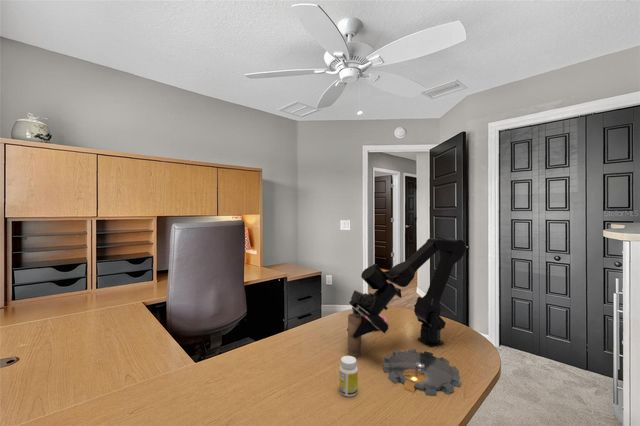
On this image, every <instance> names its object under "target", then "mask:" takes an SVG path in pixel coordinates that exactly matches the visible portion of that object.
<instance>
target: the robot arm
mask: <svg viewBox="0 0 640 426" xmlns="http://www.w3.org/2000/svg"><path fill="white" fill-rule="evenodd" d="M466 250H467V246H466V243H465V242H464V241H463V240H462V239H457V238H449V237H448V238H447V237H446V238H444V239H440V238H434V237H429V238H427V240H426V242H425V243H424V244H423V245H422V246H420V247H419V248H418V249H417V250H416V251H414V253H413V254H412V255H410V256H409V257H408V258H407V259H406V260H405V261H403V262H400V263H399V262H398V263H397V264H395V265H394V266H392V267H391V268H390V269H388V270H386V271H383V269H382V268H381V267H380V265H379V264H377V263H374V264H372V265H370V266H368V267H367V268H364V270H363V271H362V273H361V276H360V277H361V279H362V280H364V282H365V283H366V284H367V285H368V286H369V287H370V288H371V289H372V290H375V291H374V292H373V293H371V292H370V293H366V292H365V293H362V292H361V291H357V290H354V291H353V293H352V295H351V297H350V301H349V302H348V304H350V305H351V306H352V307H351V309H352V314H359V315H361V316H362V323H361V324H360V326H359V327H358V329H357V330H356V331H355V333H354V335H353V337H354V338H358V337H360V336H361V337H363V336H364V335H366V334H369V333H371V332H372V333H373V332H375V331H376V332H377V331H381V332H382V333H383V334H384V335H385V334H386V332H388V330H389V324H388V322H387V323H386V322H385V321H384V320H383V319H382V318H381V317H380V316H379V315H381V313H382V312H383V311H384V310H385V311H387V310H388V309H389V307H388V305H389V303H390V302H392V300H393V298H395V296H396V297H398V298H402V289H400V288H399V287H401V288H405V287H408V286H409V285H410V284H411V282H412V281H413V280H414V278H415V275H416V272H417V271H418V270H419V269H420V268H421V267H422V266H423V265H424V264H426V262H427V261H429V260H430V258H432V257H433V256H434V255H435V254H436V253H439V261H438V264H437V266H436V269H435V271H434V274H433V276H432V278H431V281H430V283H429V286H428V289H427V291H426V293H425V295H424V296H418V297H417V299H416V302H415V304H414V306H413V307H414V310H413V313H414V315H415V317H416V318H417V321H418V322H419V323H421V326H420V327H421V328H420V332H419V333H420V337H417V340H418V341H420V342H422V343H423V344H425V345H427V346H429V347H437V346H439V345H442V344H444V341H443V340H441V330H443V329H445V328H446V324H447V323H446V322H445V320H444V319H443V318H442V317H441V313H442V312H441V311H442V308H441V303H440V301H441V299H442V296H443V293H444V291H445V289H446V286H447V284H448V281H449V278H450V276H451V273H452V271H453V268H454V266H455V264H457V263H458V261H460V260H461V259H462V258H463V256H464V255H465V253H466ZM438 251H439V252H438ZM395 285H396V286H398V287H396V286H395ZM364 316H367V317H368V318H365V317H364ZM377 327H378V328H379V330H378V329H377ZM346 331H347V332H348V327H347V329H346Z"/></svg>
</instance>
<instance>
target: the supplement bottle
mask: <svg viewBox="0 0 640 426" xmlns="http://www.w3.org/2000/svg"><path fill="white" fill-rule="evenodd" d="M338 369H339V372H338V373H339V377H338V378H339V379H338V381H339V383H338V384H339V385H338V386H339V387H338V388H339V393H340V394H341V395H342V396H344V397H347V398H348V397H350V398H352V397H354V396H356V395H357V394H358V392H359V391H358V389H359V387H358V384H359V383H358V381H359V380H358V379H359V377H358V376H359V374H358V373H359V372H358V370H359V369H358V366H357V359H356V357H352V356H349V355H344V356H342V357H341V358H340V365H339V368H338Z"/></svg>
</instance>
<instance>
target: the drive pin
mask: <svg viewBox="0 0 640 426" xmlns="http://www.w3.org/2000/svg"><path fill="white" fill-rule="evenodd" d="M361 323H362V316H361V315H359V314H353V313H349V314H348V315H347V328H348V331H347V356H352V357H354V358H358V357H361V355H362V336H360V337H358V338H354V337H353V335H354V333H355V331H356V330H357V329H358V327H359V326H360V324H361Z"/></svg>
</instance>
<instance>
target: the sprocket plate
mask: <svg viewBox="0 0 640 426" xmlns="http://www.w3.org/2000/svg"><path fill="white" fill-rule="evenodd" d="M382 370H383V372H384V373H387V374H388V379H389V380H390V381H391V382H392V383H394V384H397V383H400V384H403V389H404V390H407V391H410V392H412V393H415V391H416V390H419V391H423V392H424V394H425V396H437V392H440V391H441V392H442V393H444V394H446V395H449V394H452V393H453V392H455V387H458V388H460V385H461V376H460V371H459V369H458V368H457V367H456V366H454V365H453V366H452V365H450V361H449V360H447V359H446V358H445V357H442V356H441V357H436V356H434V353H432V352H429V351H426V350H425V351H424V352H418V351H417V350H416V349H413V348H411V349H410V348H407V349H406V351H402V350H400V349H397V350H393V351H392V355H390V354H386V355H385V356H384V357H383V362H382Z"/></svg>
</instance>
